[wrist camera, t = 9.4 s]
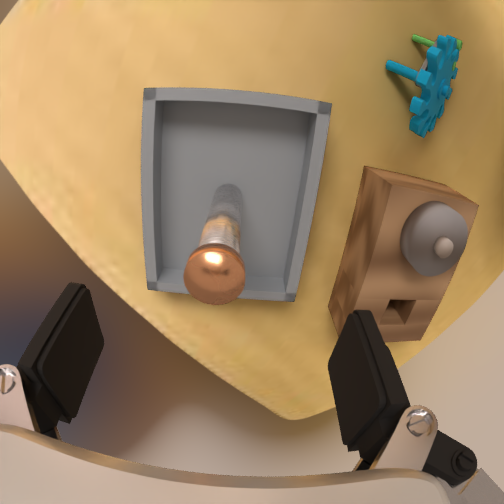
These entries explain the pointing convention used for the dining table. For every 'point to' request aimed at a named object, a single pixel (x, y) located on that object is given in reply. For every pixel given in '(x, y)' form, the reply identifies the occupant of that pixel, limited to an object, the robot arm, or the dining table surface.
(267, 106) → the tray
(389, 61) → the gear
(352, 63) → the dining table surface
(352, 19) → the dining table surface
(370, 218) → the tensioner block
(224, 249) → the pin
